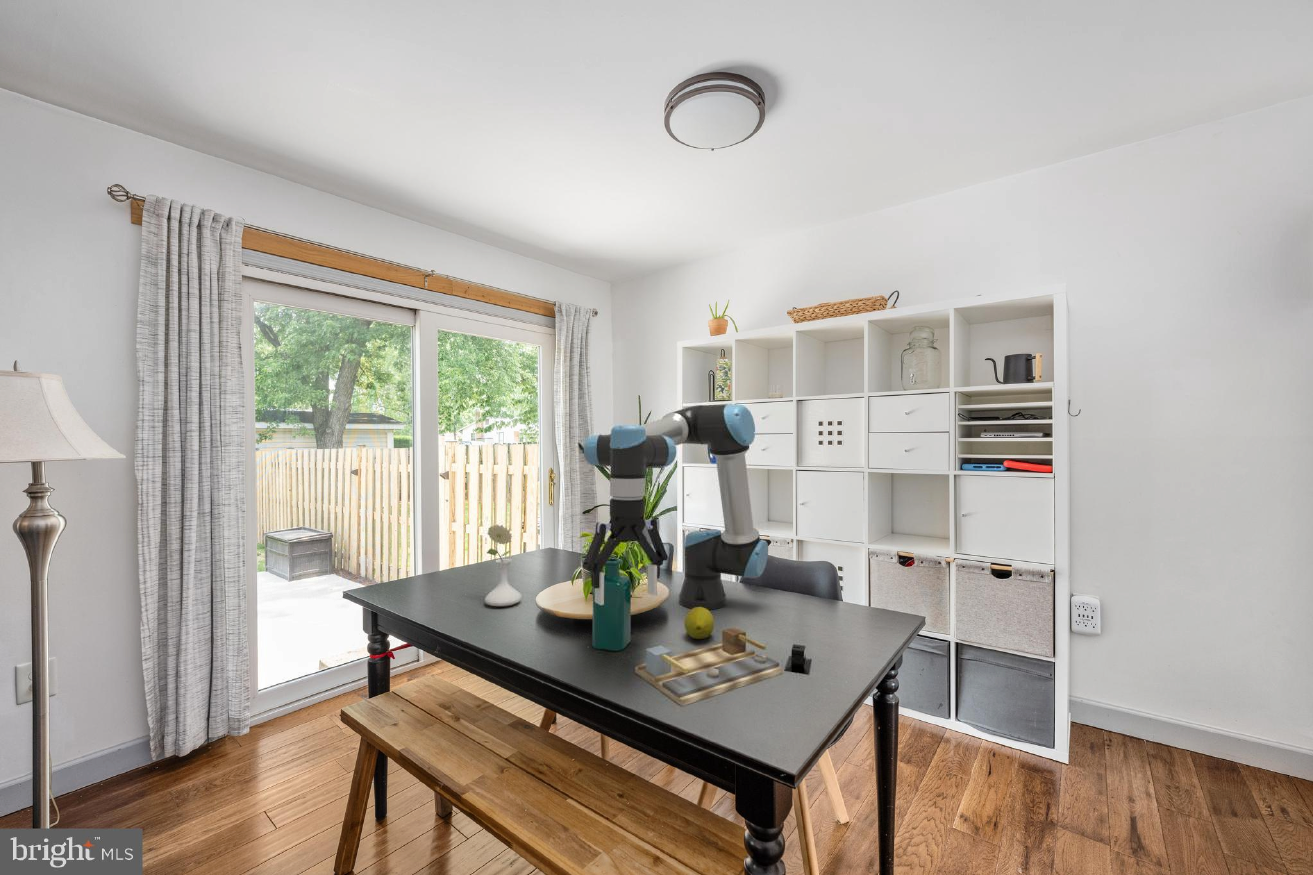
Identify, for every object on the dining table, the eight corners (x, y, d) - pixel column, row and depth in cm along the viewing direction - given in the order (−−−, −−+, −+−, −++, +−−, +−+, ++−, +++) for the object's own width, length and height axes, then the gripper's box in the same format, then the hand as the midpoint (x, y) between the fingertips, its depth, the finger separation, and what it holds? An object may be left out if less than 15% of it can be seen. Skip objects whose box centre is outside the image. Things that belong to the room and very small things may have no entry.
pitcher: (632, 640, 142) (633, 556, 142) (621, 652, 134) (622, 563, 134) (597, 636, 144) (598, 553, 144) (585, 648, 136) (585, 560, 136)
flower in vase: (529, 602, 174) (530, 524, 174) (501, 612, 164) (502, 529, 164) (501, 595, 180) (501, 520, 180) (473, 604, 171) (473, 525, 171)
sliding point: (661, 666, 123) (661, 645, 123) (694, 688, 112) (694, 664, 112) (646, 670, 120) (646, 649, 120) (678, 692, 110) (678, 669, 110)
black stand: (786, 655, 134) (786, 636, 134) (817, 659, 132) (817, 640, 132) (779, 675, 123) (779, 655, 123) (812, 680, 120) (813, 659, 120)
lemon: (689, 629, 150) (689, 601, 150) (717, 633, 148) (717, 603, 148) (679, 644, 140) (679, 613, 140) (708, 647, 137) (709, 616, 137)
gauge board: (729, 647, 138) (730, 622, 138) (782, 673, 123) (782, 645, 123) (635, 672, 122) (635, 645, 122) (681, 706, 107) (682, 674, 107)
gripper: (665, 493, 125) (664, 586, 125) (567, 499, 112) (566, 602, 112) (684, 496, 119) (683, 594, 119) (582, 502, 106) (581, 612, 106)
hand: (626, 598), depth 116 cm, fingers open, 12 cm apart
